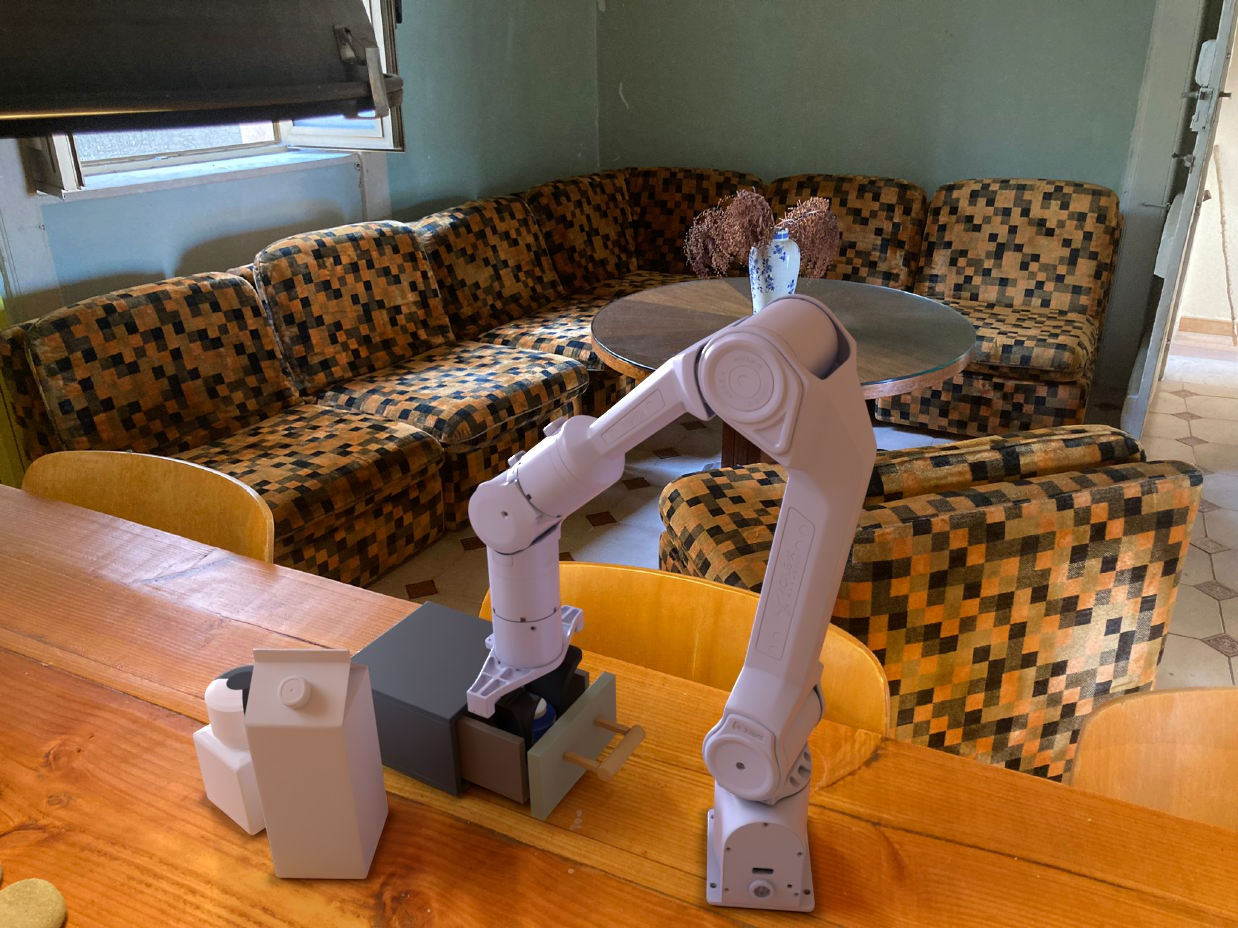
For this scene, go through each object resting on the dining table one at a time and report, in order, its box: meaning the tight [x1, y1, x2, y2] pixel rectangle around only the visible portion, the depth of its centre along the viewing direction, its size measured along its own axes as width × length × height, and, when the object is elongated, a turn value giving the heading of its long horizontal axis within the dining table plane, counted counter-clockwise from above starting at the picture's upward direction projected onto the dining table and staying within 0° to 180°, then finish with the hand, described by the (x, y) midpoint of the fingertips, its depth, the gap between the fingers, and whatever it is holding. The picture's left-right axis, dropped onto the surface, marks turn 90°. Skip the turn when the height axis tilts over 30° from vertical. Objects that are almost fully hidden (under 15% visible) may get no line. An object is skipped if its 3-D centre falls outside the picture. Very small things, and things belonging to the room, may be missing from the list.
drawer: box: [455, 667, 647, 822], centre depth 84 cm, size 17×12×7 cm
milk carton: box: [244, 647, 389, 880], centre depth 74 cm, size 7×7×19 cm
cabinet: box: [350, 600, 493, 798], centre depth 89 cm, size 13×13×8 cm
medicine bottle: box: [192, 664, 266, 836], centre depth 81 cm, size 7×7×12 cm
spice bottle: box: [526, 698, 556, 763], centre depth 85 cm, size 4×4×5 cm
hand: (533, 734), depth 85 cm, fingers closed on spice bottle, 4 cm apart
